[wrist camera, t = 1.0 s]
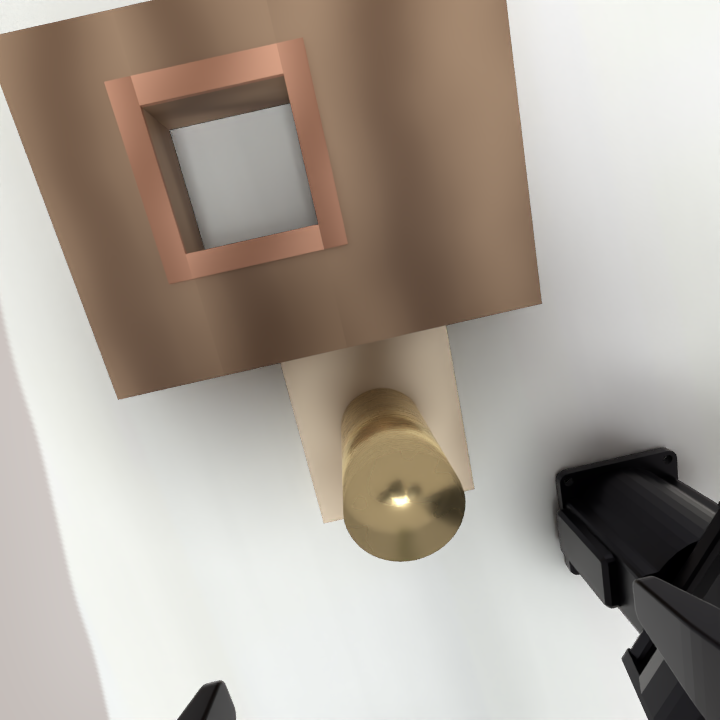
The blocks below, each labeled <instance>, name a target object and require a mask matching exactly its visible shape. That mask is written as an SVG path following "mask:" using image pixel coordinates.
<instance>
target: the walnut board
mask: <svg viewBox="0 0 720 720" xmlns="http://www.w3.org/2000/svg"><path fill="white" fill-rule="evenodd" d="M0 85H1V87H2V90H3V93H4V96H5V98H6V101H7V104H8V106H9V109H10V112H11V114H12V117H13V120H14V122H15V125H16V128H17V130H18V133H19V136H20V138H21V141H22V144H23V146H24V149H25V152H26V154H27V157H28V160H29V162H30V165H31V168H32V170H33V173H34V176H35V178H36V181H37V184H38V186H39V189H40V192H41V195H42V197H43V200H44V203H45V205H46V208H47V211H48V213H49V216H50V219H51V221H52V224H53V227H54V229H55V232H56V235H57V237H58V240H59V243H60V245H61V248H62V251H63V253H64V256H65V259H66V261H67V264H68V267H69V269H70V272H71V275H72V277H73V280H74V283H75V285H76V288H77V291H78V294H79V296H80V299H81V302H82V304H83V307H84V310H85V312H86V315H87V318H88V320H89V323H90V326H91V328H92V331H93V334H94V336H95V339H96V342H97V344H98V347H99V350H100V352H101V355H102V358H103V360H104V363H105V366H106V368H107V371H108V374H109V376H110V379H111V382H112V385H113V387H114V390H115V393H116V395H117V398H118V400H119V399H123V398H128V397H132V396H136V395H141V394H145V393H150V392H154V391H158V390H163V389H167V388H172V387H176V386H181V385H185V384H189V383H194V382H198V381H203V380H207V379H211V378H216V377H220V376H225V375H229V374H233V373H238V372H242V371H247V370H251V369H256V368H260V367H264V366H269V365H273V364H278V363H280V364H281V368H282V371H283V375H284V379H285V382H286V386H287V390H288V393H289V397H290V401H291V404H292V408H293V412H294V415H295V419H296V423H297V426H298V430H299V434H300V437H301V441H302V445H303V448H304V452H305V456H306V459H307V463H308V467H309V470H310V474H311V478H312V481H313V485H314V489H315V492H316V496H317V500H318V503H319V507H320V511H321V514H322V518H323V522H324V523H328V522H332V521H337V520H341V519H344V516H343V487H342V445H341V422H342V417H343V414H344V412H345V410H346V408H347V406H348V405H349V404H350V402H351V401H352V400H353V399H354V398H356V397H357V396H358V395H360V394H362V393H363V392H366V391H368V390H371V389H376V388H390V389H394V390H397V391H400V392H402V393H404V394H405V395H407V396H408V397H409V398H410V399H411V400H412V401H413V402H414V403H415V405H416V406H417V408H418V410H419V411H420V413H421V415H422V416H423V418H424V420H425V422H426V423H427V425H428V427H429V428H430V430H431V432H432V434H433V435H434V437H435V439H436V440H437V442H438V444H439V446H440V447H441V449H442V451H443V452H444V454H445V456H446V458H447V459H448V461H449V463H450V464H451V466H452V468H453V470H454V471H455V473H456V475H457V476H458V478H459V480H460V482H461V484H462V487H463V490H464V491H468V490H473V489H474V484H473V478H472V472H471V466H470V461H469V455H468V449H467V443H466V437H465V432H464V426H463V420H462V414H461V409H460V403H459V397H458V391H457V385H456V380H455V374H454V368H453V362H452V357H451V351H450V345H449V339H448V333H447V328H446V325H450V324H454V323H458V322H463V321H467V320H472V319H476V318H481V317H485V316H489V315H494V314H498V313H503V312H507V311H511V310H516V309H520V308H525V307H529V306H533V305H538V304H542V301H541V293H540V284H539V276H538V267H537V258H536V250H535V241H534V233H533V224H532V216H531V207H530V199H529V190H528V182H527V173H526V165H525V156H524V148H523V139H522V131H521V122H520V114H519V105H518V97H517V88H516V80H515V71H514V63H513V54H512V46H511V37H510V29H509V20H508V12H507V3H506V0H152V1H147V2H143V3H138V4H134V5H129V6H125V7H120V8H116V9H112V10H107V11H103V12H98V13H94V14H89V15H85V16H80V17H76V18H71V19H67V20H62V21H58V22H53V23H49V24H44V25H40V26H35V27H31V28H26V29H22V30H17V31H13V32H8V33H4V34H0ZM288 103H290V104H291V108H292V113H293V117H294V121H295V126H296V130H297V134H298V139H299V143H300V147H301V152H302V156H303V160H304V164H305V169H306V173H307V177H308V182H309V186H310V190H311V195H312V199H313V203H314V208H315V212H316V216H317V221H318V224H317V225H312V226H308V227H304V228H299V229H295V230H290V231H286V232H281V233H277V234H273V235H268V236H264V237H259V238H255V239H250V240H246V241H242V242H237V243H233V244H228V245H224V246H219V247H215V248H210V249H206V250H205V249H204V246H203V243H202V239H201V236H200V232H199V229H198V226H197V222H196V219H195V216H194V212H193V209H192V205H191V202H190V199H189V195H188V192H187V189H186V185H185V182H184V178H183V175H182V172H181V168H180V165H179V162H178V158H177V155H176V151H175V148H174V145H173V141H172V138H171V135H170V131H169V130H172V129H176V128H181V127H185V126H190V125H194V124H199V123H203V122H207V121H212V120H216V119H221V118H225V117H230V116H234V115H239V114H243V113H248V112H252V111H256V110H261V109H265V108H270V107H274V106H279V105H283V104H288Z"/></svg>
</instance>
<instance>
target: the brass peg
mask: <svg viewBox="0 0 720 720" xmlns="http://www.w3.org/2000/svg"><path fill="white" fill-rule="evenodd" d="M341 445H342V487H343V516H344V522H345V525H346V528H347V530H348V532H349V534H350V536H351V537H352V538H353V540H354V541H355V542H356V543H357V544H358V545H359V546H360V547H361V548H362V549H363V550H365V551H366V552H368V553H369V554H371V555H373V556H376V557H378V558H381V559H384V560H389V561H399V562H402V561H412V560H417V559H421V558H424V557H426V556H429V555H431V554H433V553H434V552H436V551H438V550H439V549H441V548H442V547H443V546H445V545H446V544H447V543H448V542H449V541H450V540H451V539H452V537H453V536H454V535H455V533H456V532H457V530H458V529H459V527H460V525H461V522H462V519H463V516H464V511H465V494H464V490H463V487H462V484H461V482H460V480H459V478H458V476H457V475H456V473H455V471H454V470H453V468H452V466H451V464H450V463H449V461H448V459H447V458H446V456H445V454H444V452H443V451H442V449H441V447H440V446H439V444H438V442H437V440H436V439H435V437H434V435H433V434H432V432H431V430H430V428H429V427H428V425H427V423H426V422H425V420H424V418H423V416H422V415H421V413H420V411H419V410H418V408H417V406H416V405H415V403H414V402H413V401H412V400H411V399H410V398H409V397H408V396H407V395H405V394H404V393H402V392H400V391H397V390H394V389H390V388H376V389H371V390H368V391H366V392H363V393H362V394H360V395H358V396H357V397H356V398H354V399H353V400H352V401H351V402H350V404H349V405H348V406H347V408H346V410H345V412H344V414H343V417H342V422H341Z"/></svg>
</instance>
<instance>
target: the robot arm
mask: <svg viewBox="0 0 720 720" xmlns="http://www.w3.org/2000/svg"><path fill="white" fill-rule="evenodd" d="M665 456H666V458H665V459H664V457H665ZM663 459H664V460H663ZM567 478H569V480H568V481H567V482H565V480H566V479H567ZM556 484H557V492H558V500H559V510H558V512H557V521H558V529H559V538H560V546H561V551H562V552H563V553H564V555H565V558H566V565H567V567H568V569H569V570H570V571H571V572H572V573H573V574H575V575H581V576H582V577H583V579H584V580H585V581H586V582H587V584H588V585H589V586H590V587H591V589H592V590H593V591H594V592H595V594H596V595H597V596H598V597H599V599H600V600H601V601H602V602H603V604H604V605H606V606H607V607H609V608H616V607H618V608H619V609H620V610H621V612H622V613H623V614H624V615H625V616H626V618H627V619H628V620H629V621H630V622H631V624H632V625H633V626H634V627H635V629H636V630H637V631H638V632H639V633H640V635H639V637H638V638H637V640H636V641H635V643H634V645H633V646H632V648H631V649H630V648H628V649H627V650H626V652H625V654H624V655H623V657H622V661H623V663H624V666H625V668H626V670H627V673H628V675H629V677H630V679H631V682H632V684H633V686H634V688H635V691H636V693H637V695H638V698H639V700H640V702H641V704H642V707H643V709H644V711H645V713H646V716H647V718H648V720H720V501H719V503H718V504H717V503H715V502H714V501H712V500H710V499H709V498H707V497H706V496H704V495H702V494H701V493H699V492H697V491H696V490H694V489H693V488H691V487H689V486H688V485H686V484H684V483H683V482H681V481H679V480H678V470H677V456H676V454H675V453H674V452H673V451H671V450H669V449H667V448H659V449H655V450H650V451H646V452H642V453H637V454H633V455H628V456H624V457H620V458H615V459H611V460H607V461H602V462H598V463H593V464H589V465H585V466H580V467H576V468H571V469H567V470H563V471H561V472H560V473H559V474H558V475H557V477H556ZM177 720H236V711H235V707H234V704H233V702H232V699H231V697H230V694H229V692H228V689H227V687H226V685H225V683H224V682H223V681H222V680H219V681H215V682H211V683H207V684H205V685H203V686H202V687H201V688H200V689H199V691H198V692H197V693H196V695H195V696H194V697H193V699H192V700H191V702H190V703H189V704H188V706H187V707H186V708H185V710H184V711H183V712H182V714H181V715H180V716H179V718H178V719H177Z"/></svg>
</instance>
